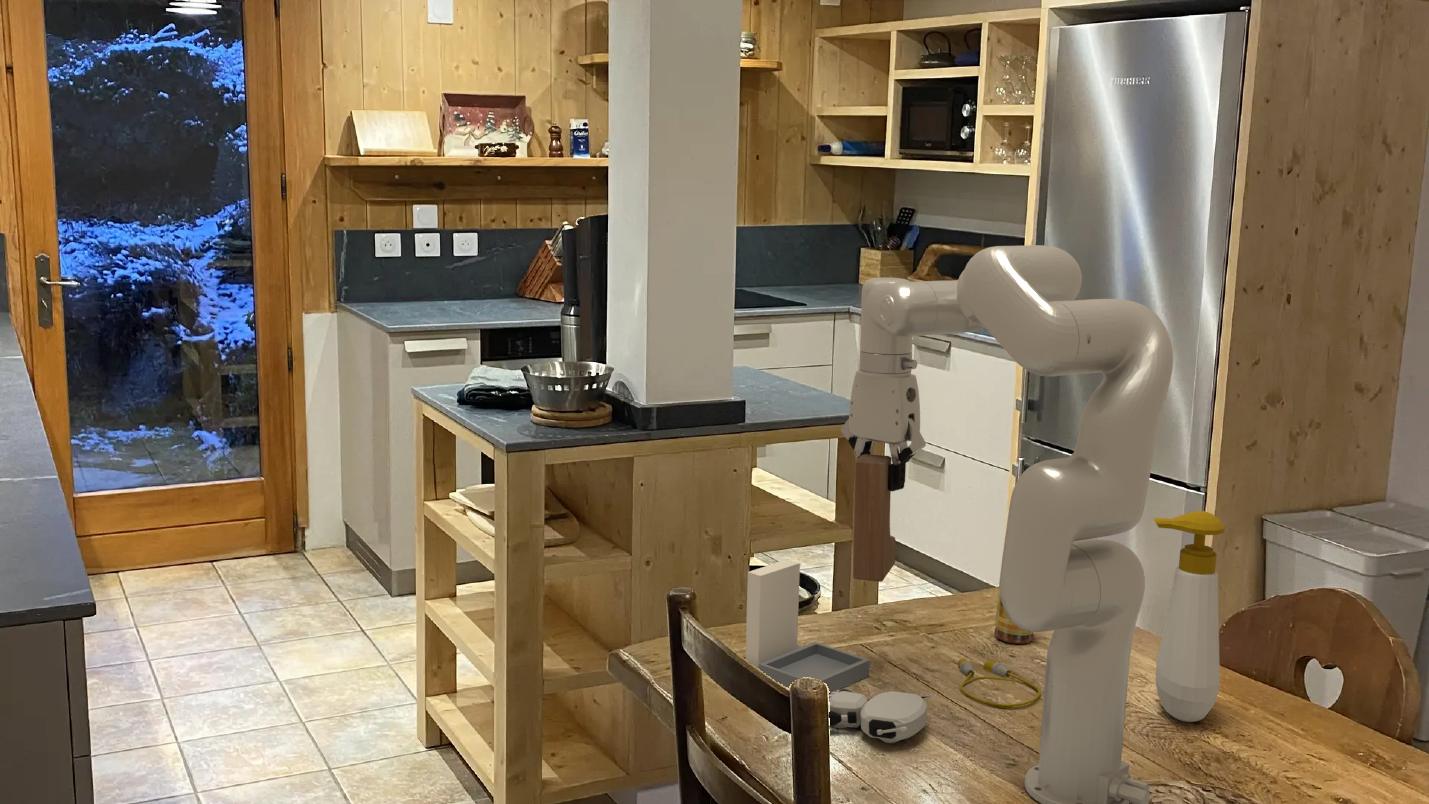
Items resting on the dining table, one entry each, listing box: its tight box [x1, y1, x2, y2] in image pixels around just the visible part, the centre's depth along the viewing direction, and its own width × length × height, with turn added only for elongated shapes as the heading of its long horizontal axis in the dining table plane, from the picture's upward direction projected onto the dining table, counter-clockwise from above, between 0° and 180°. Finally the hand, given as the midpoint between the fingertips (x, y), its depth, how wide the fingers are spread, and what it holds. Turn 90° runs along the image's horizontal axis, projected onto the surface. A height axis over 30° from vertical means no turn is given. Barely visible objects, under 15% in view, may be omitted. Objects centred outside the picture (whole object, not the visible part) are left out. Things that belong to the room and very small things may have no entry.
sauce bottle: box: [994, 581, 1035, 645], centre depth 213 cm, size 6×6×20 cm
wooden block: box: [852, 454, 896, 583], centre depth 198 cm, size 9×4×18 cm, turn 161°
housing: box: [745, 559, 871, 694], centre depth 198 cm, size 16×13×15 cm
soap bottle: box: [1153, 510, 1226, 723], centre depth 185 cm, size 13×10×29 cm
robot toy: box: [828, 688, 935, 744], centre depth 180 cm, size 12×4×15 cm
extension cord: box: [957, 657, 1042, 710], centre depth 195 cm, size 12×16×2 cm
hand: (880, 484), depth 197 cm, fingers closed on wooden block, 5 cm apart
